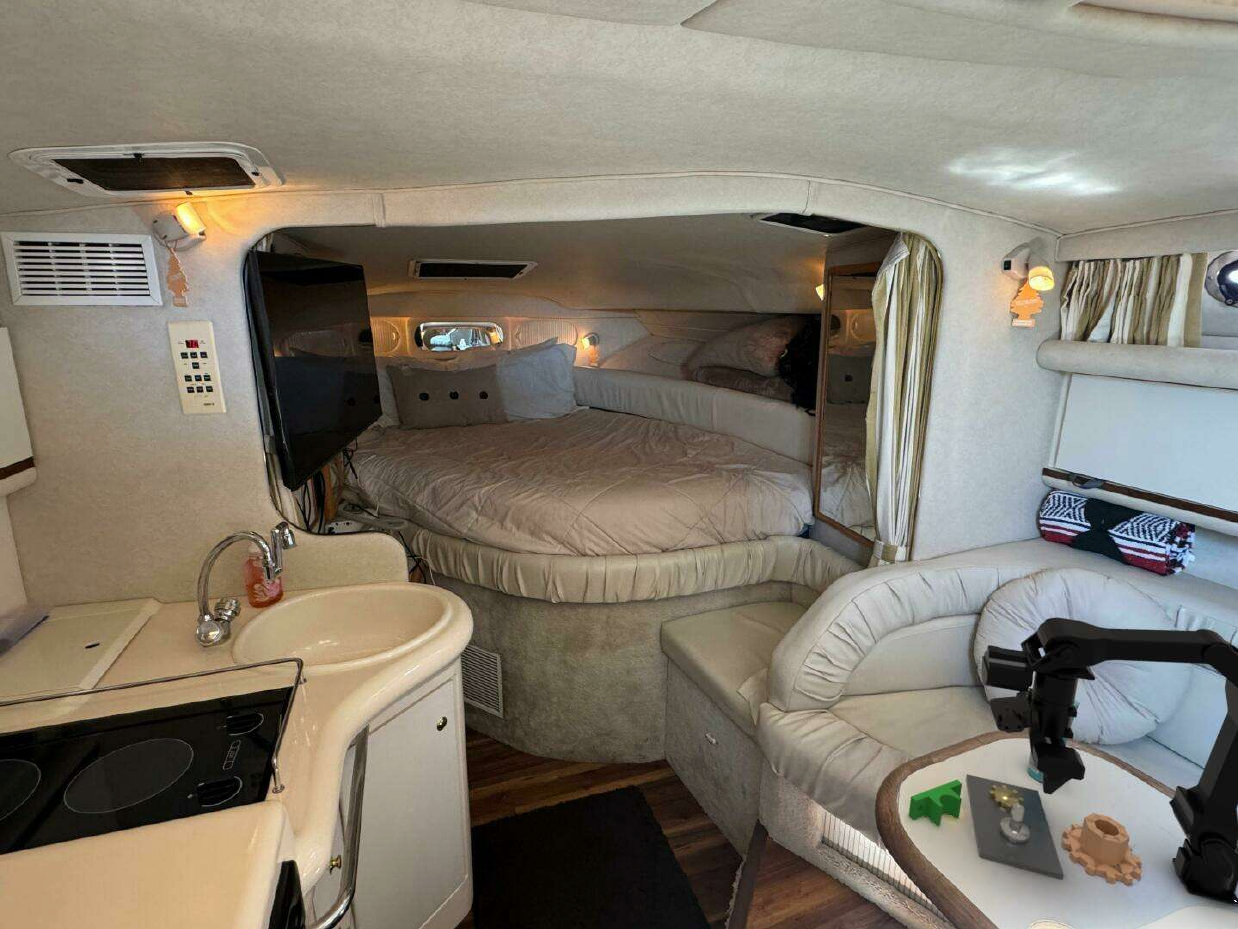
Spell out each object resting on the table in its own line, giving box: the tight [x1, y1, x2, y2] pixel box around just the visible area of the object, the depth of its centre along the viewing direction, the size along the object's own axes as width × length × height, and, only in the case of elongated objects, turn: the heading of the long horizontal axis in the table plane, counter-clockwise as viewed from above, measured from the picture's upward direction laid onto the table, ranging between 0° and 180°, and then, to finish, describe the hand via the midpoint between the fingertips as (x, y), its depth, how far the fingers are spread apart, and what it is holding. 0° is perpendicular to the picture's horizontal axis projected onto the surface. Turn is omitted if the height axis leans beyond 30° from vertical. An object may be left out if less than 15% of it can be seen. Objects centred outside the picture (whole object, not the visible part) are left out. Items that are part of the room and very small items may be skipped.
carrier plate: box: [965, 773, 1065, 881], centre depth 112 cm, size 12×19×7 cm, turn 158°
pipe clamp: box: [908, 779, 963, 827], centre depth 115 cm, size 11×4×5 cm, turn 110°
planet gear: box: [1061, 812, 1143, 886], centre depth 105 cm, size 11×11×6 cm
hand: (1040, 773), depth 106 cm, fingers open, 9 cm apart
